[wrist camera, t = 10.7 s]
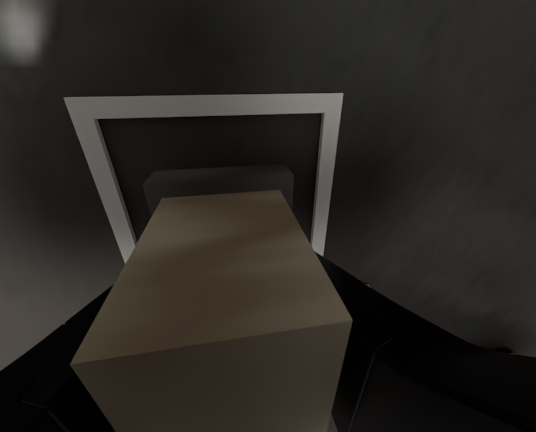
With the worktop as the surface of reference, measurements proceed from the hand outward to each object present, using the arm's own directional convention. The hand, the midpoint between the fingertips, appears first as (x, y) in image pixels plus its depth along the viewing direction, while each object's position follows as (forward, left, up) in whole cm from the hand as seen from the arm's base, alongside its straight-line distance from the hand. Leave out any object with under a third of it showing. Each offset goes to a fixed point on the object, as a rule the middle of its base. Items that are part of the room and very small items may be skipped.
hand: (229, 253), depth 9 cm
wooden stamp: (0, 0, -2) cm, 2 cm away
